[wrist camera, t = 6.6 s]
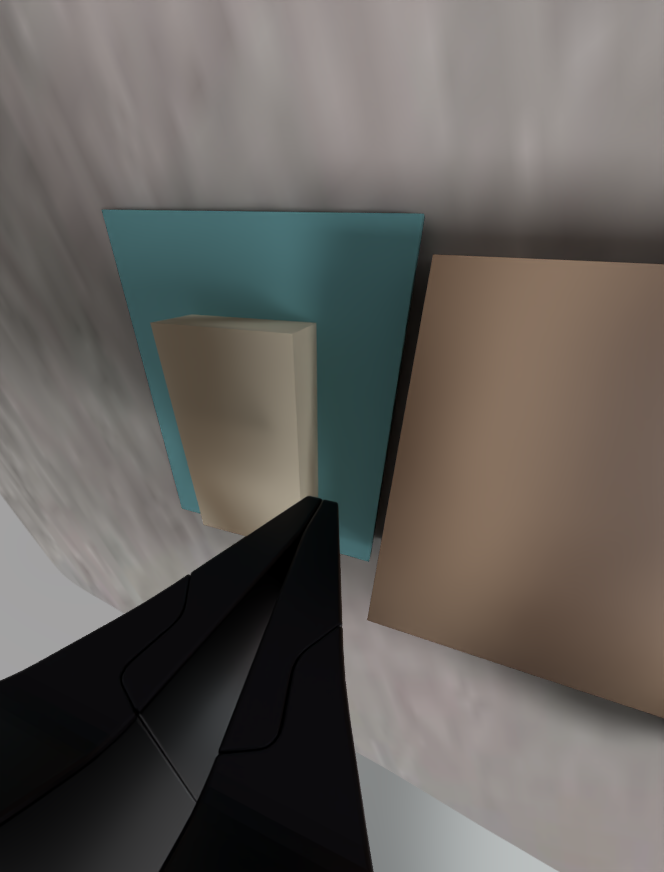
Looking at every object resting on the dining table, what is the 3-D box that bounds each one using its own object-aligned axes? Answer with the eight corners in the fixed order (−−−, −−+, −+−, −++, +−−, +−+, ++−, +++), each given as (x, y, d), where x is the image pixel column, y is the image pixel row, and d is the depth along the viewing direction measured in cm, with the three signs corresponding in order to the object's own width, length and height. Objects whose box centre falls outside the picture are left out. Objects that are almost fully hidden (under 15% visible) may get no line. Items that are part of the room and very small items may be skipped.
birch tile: (150, 322, 10) (191, 314, 12) (203, 524, 14) (228, 497, 16) (292, 333, 9) (316, 322, 10) (303, 551, 13) (318, 519, 15)
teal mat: (424, 216, 9) (423, 213, 8) (371, 552, 16) (368, 561, 15) (116, 211, 11) (101, 209, 11) (189, 501, 18) (182, 508, 18)
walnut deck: (977, 283, 6) (1562, 302, 3) (652, 612, 12) (731, 740, 9) (435, 258, 9) (432, 254, 6) (383, 541, 15) (367, 620, 12)
